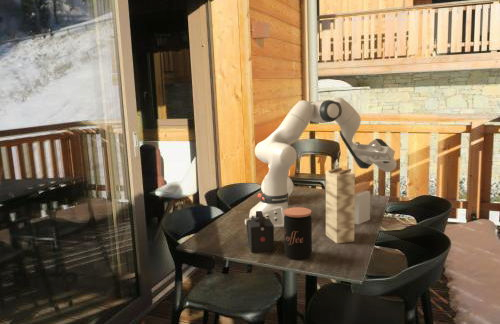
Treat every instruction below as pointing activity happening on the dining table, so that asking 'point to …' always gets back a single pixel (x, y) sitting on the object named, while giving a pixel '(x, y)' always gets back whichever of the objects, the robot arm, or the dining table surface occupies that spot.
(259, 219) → the camera
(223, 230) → the dining table surface
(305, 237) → the coffee jar
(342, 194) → the stand
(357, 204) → the step
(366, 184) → the block
